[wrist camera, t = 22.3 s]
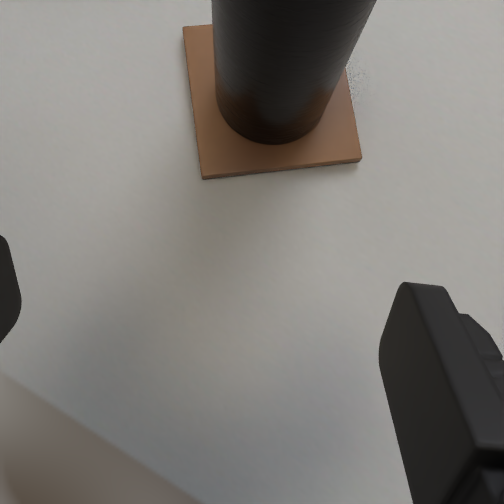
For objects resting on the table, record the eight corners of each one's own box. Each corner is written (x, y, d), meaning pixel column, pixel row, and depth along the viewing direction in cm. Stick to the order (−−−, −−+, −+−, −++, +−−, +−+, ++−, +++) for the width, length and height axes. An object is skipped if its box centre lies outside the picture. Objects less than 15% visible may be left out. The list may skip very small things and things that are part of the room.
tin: (219, 155, 21) (212, -64, 9) (204, 43, 22) (179, -290, 10) (339, 142, 21) (483, -82, 9) (320, 33, 22) (427, -296, 10)
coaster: (201, 179, 21) (201, 176, 21) (183, 32, 22) (182, 26, 22) (359, 161, 22) (362, 158, 21) (333, 19, 23) (335, 13, 22)
